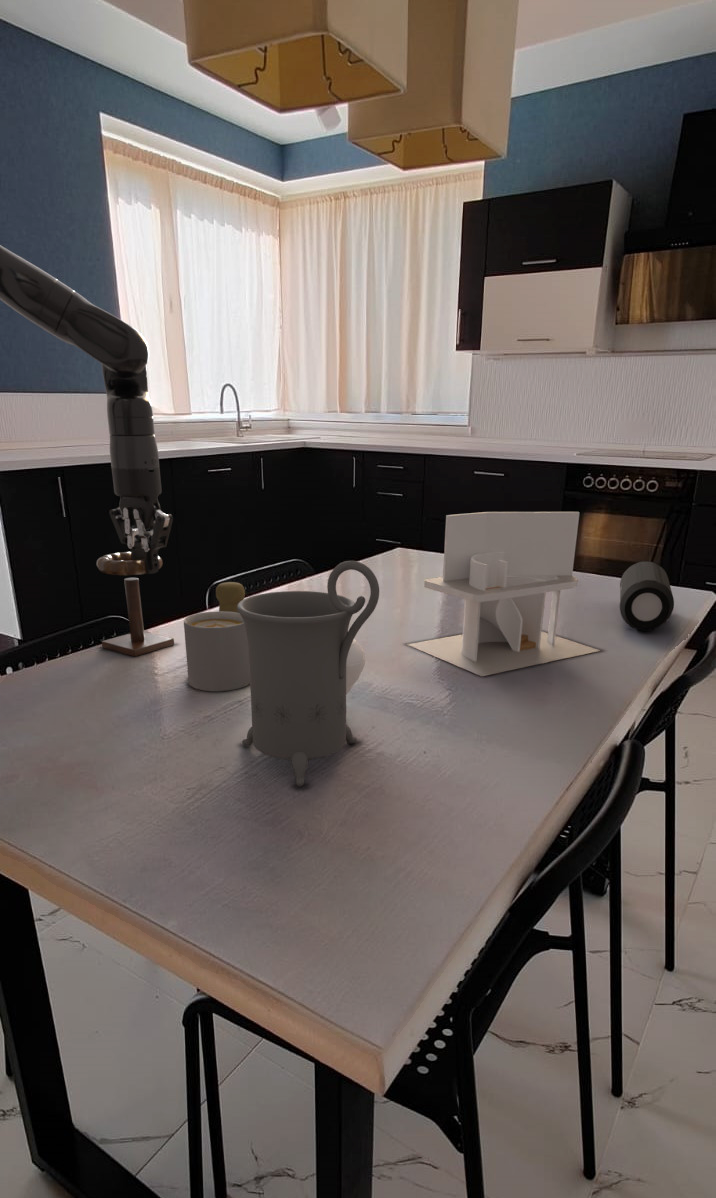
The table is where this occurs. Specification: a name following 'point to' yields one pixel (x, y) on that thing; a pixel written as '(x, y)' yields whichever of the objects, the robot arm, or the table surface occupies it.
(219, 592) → the cork
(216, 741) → the table surface
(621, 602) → the portable speaker
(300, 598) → the mug
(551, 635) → the architectural model
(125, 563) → the ring
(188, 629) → the coffee mug
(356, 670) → the spinning top
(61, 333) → the robot arm
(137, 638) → the post
